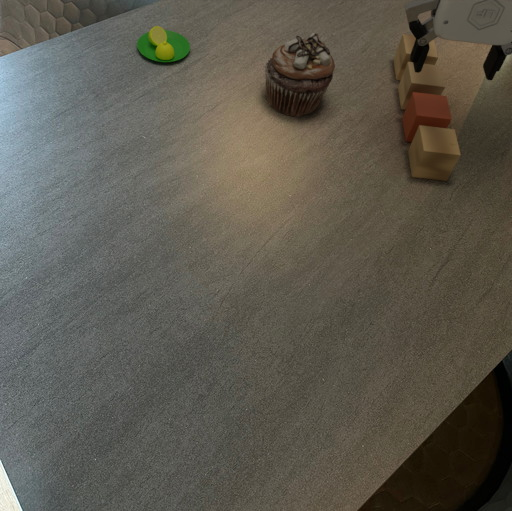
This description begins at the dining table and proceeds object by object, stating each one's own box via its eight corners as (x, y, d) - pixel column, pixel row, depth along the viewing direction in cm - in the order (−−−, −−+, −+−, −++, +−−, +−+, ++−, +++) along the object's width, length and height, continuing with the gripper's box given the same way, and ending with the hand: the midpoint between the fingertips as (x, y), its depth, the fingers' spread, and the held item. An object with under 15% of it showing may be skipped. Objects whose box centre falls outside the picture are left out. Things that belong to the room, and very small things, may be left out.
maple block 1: (423, 64, 102) (433, 37, 98) (427, 84, 99) (438, 57, 95) (393, 60, 102) (402, 33, 98) (396, 80, 99) (406, 53, 95)
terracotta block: (434, 122, 94) (446, 95, 90) (439, 145, 91) (452, 119, 87) (401, 118, 93) (412, 91, 89) (405, 141, 90) (416, 115, 86)
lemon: (125, 47, 95) (125, 30, 93) (163, 27, 99) (163, 10, 97) (163, 72, 93) (163, 56, 90) (200, 50, 97) (201, 34, 95)
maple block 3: (441, 155, 89) (454, 129, 85) (446, 181, 86) (460, 155, 82) (407, 151, 89) (419, 124, 85) (411, 177, 86) (423, 150, 82)
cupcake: (301, 71, 97) (313, 13, 89) (337, 110, 92) (354, 52, 84) (248, 87, 93) (256, 27, 85) (283, 128, 89) (295, 69, 81)
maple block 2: (428, 92, 98) (440, 65, 94) (433, 113, 95) (445, 86, 91) (397, 88, 97) (407, 61, 93) (400, 109, 94) (411, 82, 90)
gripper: (434, -49, 67) (390, 81, 80) (590, -31, 68) (520, 95, 82) (425, -84, 71) (385, 45, 85) (572, -66, 72) (508, 59, 86)
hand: (451, 69), depth 83 cm, fingers open, 9 cm apart
